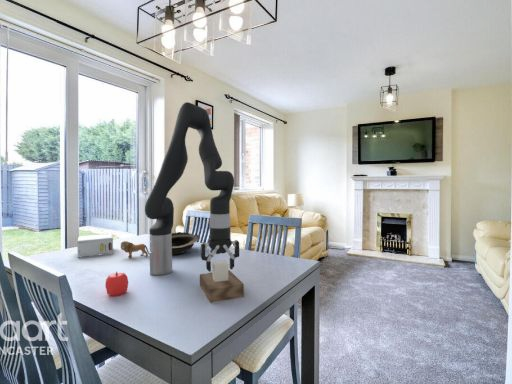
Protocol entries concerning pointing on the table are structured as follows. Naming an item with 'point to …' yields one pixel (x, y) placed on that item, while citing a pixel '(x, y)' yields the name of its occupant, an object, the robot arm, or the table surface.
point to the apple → (116, 284)
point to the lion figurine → (133, 248)
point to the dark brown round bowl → (183, 242)
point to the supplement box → (95, 245)
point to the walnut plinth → (221, 287)
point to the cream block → (220, 271)
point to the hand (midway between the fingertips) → (220, 269)
